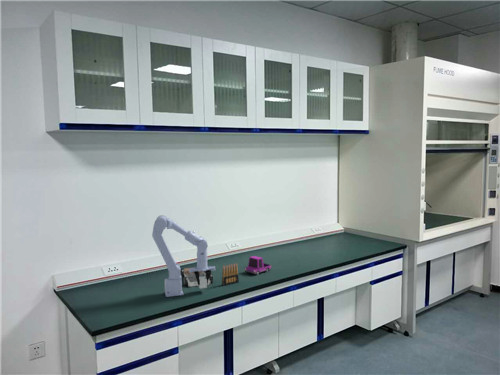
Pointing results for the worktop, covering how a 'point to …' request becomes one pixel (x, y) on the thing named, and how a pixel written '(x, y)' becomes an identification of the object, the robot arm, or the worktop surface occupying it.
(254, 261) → the toy truck
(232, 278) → the ammunition clip
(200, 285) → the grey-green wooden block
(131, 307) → the worktop surface
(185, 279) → the chassis
